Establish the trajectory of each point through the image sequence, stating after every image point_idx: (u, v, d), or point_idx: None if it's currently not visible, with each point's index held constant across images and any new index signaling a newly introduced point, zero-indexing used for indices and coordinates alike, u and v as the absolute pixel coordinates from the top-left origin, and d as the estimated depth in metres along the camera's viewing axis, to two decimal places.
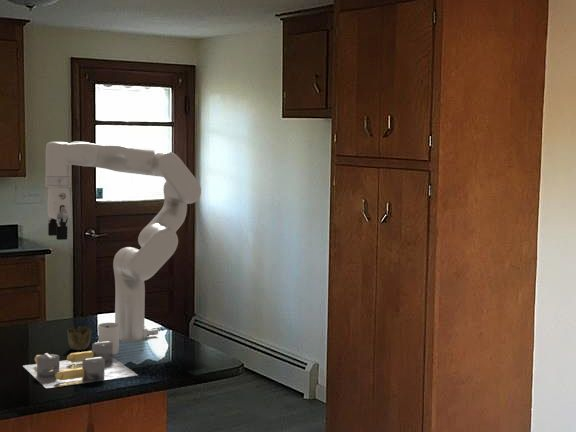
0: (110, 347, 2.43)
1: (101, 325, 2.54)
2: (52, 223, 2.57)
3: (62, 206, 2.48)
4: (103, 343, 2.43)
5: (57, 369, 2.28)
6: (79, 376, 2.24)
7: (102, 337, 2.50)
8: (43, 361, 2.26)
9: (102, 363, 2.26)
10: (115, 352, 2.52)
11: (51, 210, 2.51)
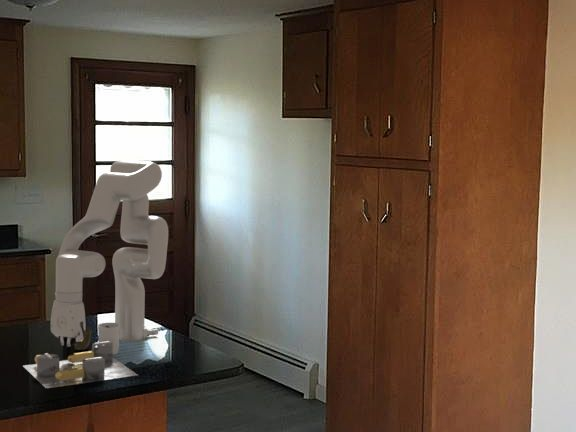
0: (110, 347, 2.43)
1: (101, 325, 2.54)
2: None
3: None
4: (103, 343, 2.43)
5: (57, 369, 2.28)
6: (79, 376, 2.24)
7: (102, 337, 2.50)
8: (43, 361, 2.26)
9: (102, 363, 2.26)
10: (115, 352, 2.52)
11: None
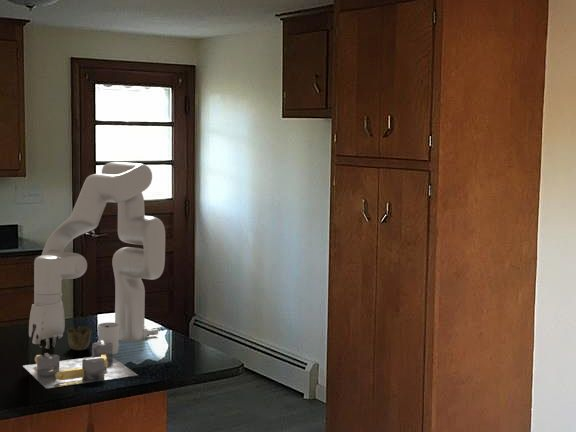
0: None
1: (101, 325, 2.55)
2: None
3: None
4: (103, 343, 2.44)
5: (57, 369, 2.28)
6: (79, 376, 2.24)
7: (102, 337, 2.50)
8: (43, 361, 2.26)
9: (102, 363, 2.26)
10: (115, 352, 2.52)
11: (57, 327, 2.37)
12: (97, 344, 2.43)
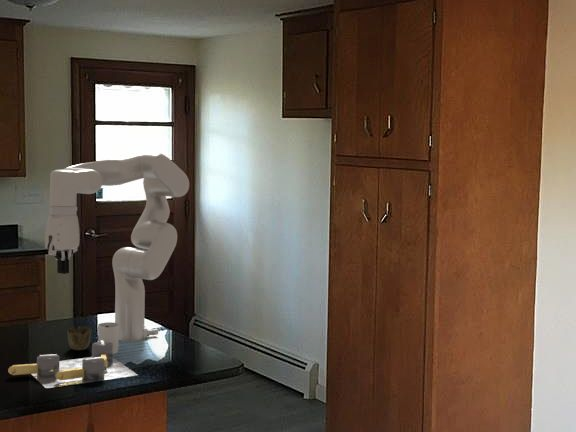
0: None
1: (101, 325, 2.55)
2: None
3: None
4: (103, 343, 2.44)
5: None
6: (79, 376, 2.24)
7: (102, 337, 2.51)
8: (57, 359, 2.28)
9: (102, 363, 2.26)
10: (115, 352, 2.52)
11: (72, 240, 2.43)
12: (97, 344, 2.43)
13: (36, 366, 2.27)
